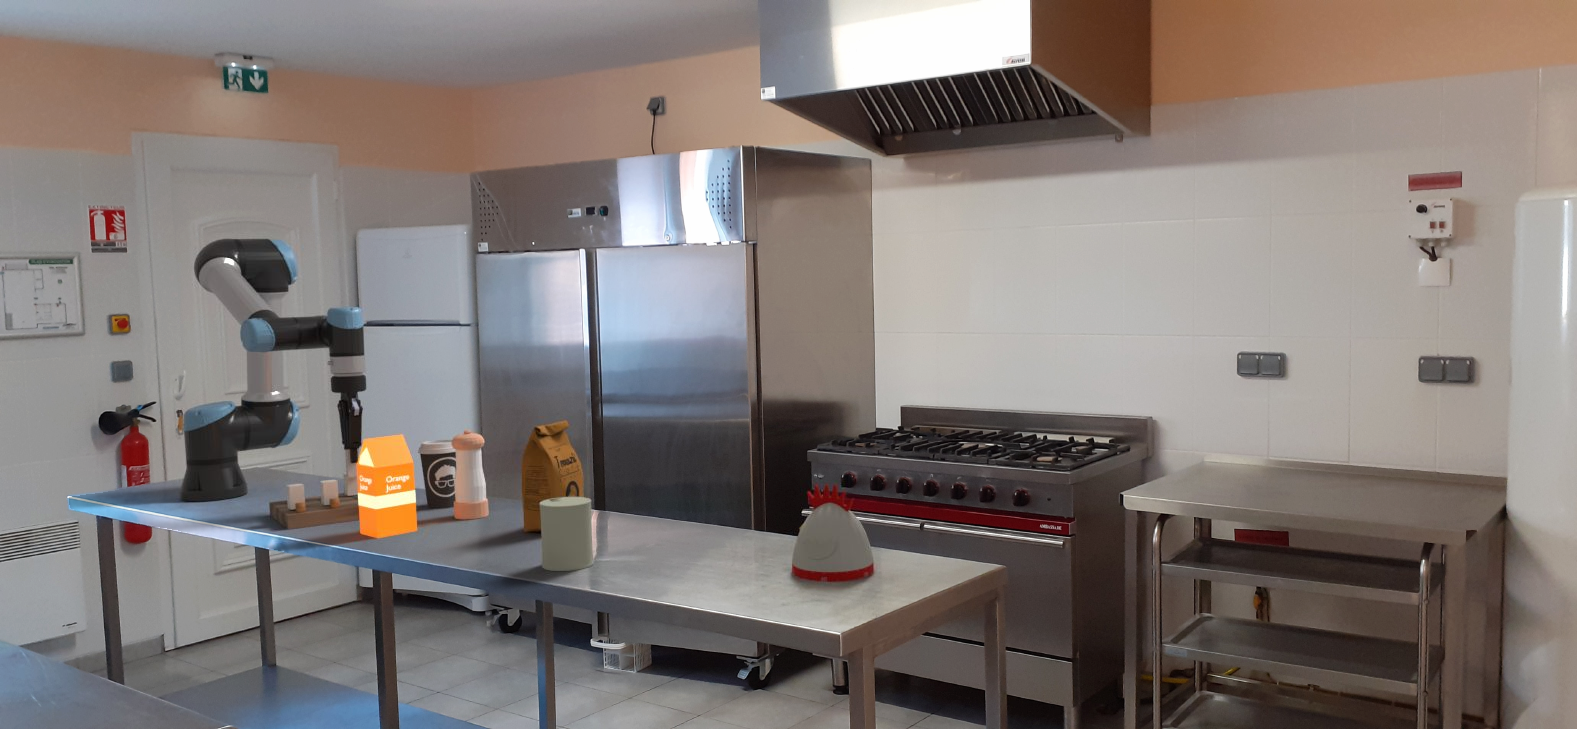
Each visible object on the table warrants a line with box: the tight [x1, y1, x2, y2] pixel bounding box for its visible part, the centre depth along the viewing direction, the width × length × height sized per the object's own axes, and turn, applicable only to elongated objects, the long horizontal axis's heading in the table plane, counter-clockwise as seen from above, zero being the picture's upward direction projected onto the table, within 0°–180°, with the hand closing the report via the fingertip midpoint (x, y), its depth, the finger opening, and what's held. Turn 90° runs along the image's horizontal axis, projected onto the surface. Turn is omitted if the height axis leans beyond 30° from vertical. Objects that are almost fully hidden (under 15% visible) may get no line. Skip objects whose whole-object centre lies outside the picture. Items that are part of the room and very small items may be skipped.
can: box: [539, 496, 595, 572], centre depth 201 cm, size 9×9×12 cm
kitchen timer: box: [791, 483, 875, 583], centre depth 191 cm, size 14×14×15 cm
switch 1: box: [286, 483, 306, 510], centre depth 246 cm, size 3×3×5 cm
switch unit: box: [268, 491, 360, 530], centre depth 254 cm, size 20×20×5 cm
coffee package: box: [521, 419, 585, 533], centre depth 233 cm, size 10×12×22 cm
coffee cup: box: [417, 439, 456, 510], centre depth 261 cm, size 10×10×15 cm
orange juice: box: [357, 434, 418, 539], centre depth 234 cm, size 8×9×20 cm
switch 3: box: [343, 472, 358, 496], centre depth 261 cm, size 3×3×5 cm
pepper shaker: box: [451, 429, 490, 520], centre depth 248 cm, size 7×7×19 cm
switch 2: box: [319, 479, 339, 505], centre depth 250 cm, size 3×3×5 cm
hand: (353, 476), depth 259 cm, fingers closed
